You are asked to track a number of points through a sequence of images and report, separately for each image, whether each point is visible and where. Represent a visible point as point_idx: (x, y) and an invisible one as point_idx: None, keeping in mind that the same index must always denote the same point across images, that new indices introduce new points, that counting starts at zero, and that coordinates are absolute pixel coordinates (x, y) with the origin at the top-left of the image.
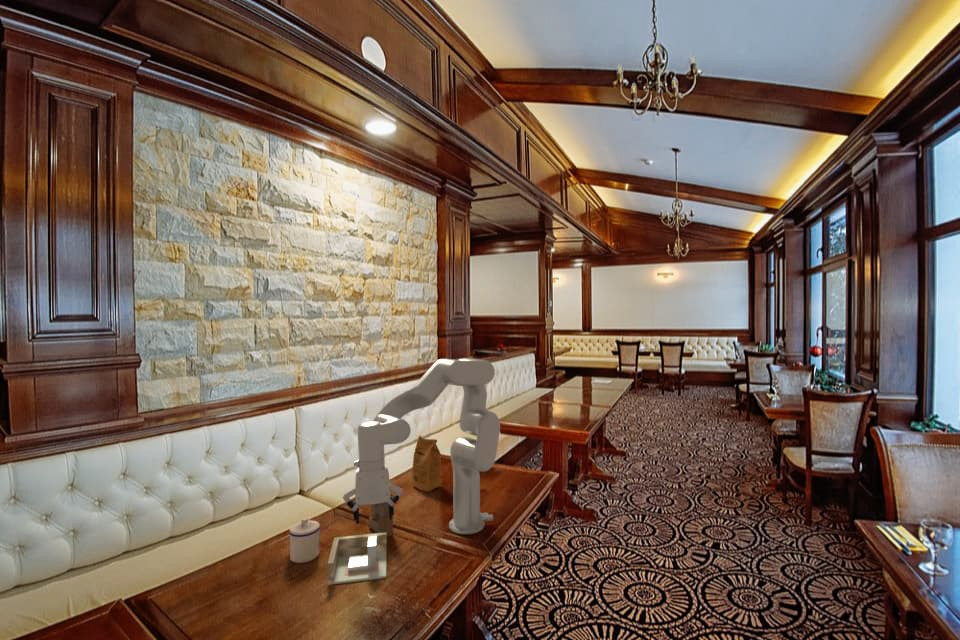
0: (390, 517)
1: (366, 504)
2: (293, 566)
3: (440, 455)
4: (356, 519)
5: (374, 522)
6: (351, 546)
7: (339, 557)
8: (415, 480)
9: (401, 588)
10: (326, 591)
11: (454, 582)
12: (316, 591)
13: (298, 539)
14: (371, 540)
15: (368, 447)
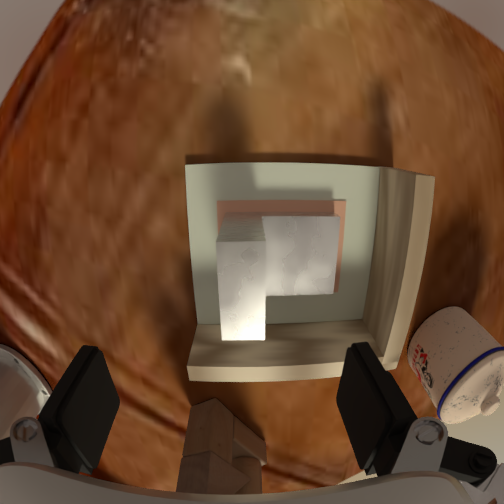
0: (83, 354)
1: (316, 493)
2: (467, 293)
3: None
4: (377, 363)
5: (249, 448)
6: (329, 341)
7: (360, 316)
8: None
9: (133, 94)
10: (394, 132)
11: (4, 125)
12: (421, 143)
13: (495, 342)
14: (246, 302)
15: None
